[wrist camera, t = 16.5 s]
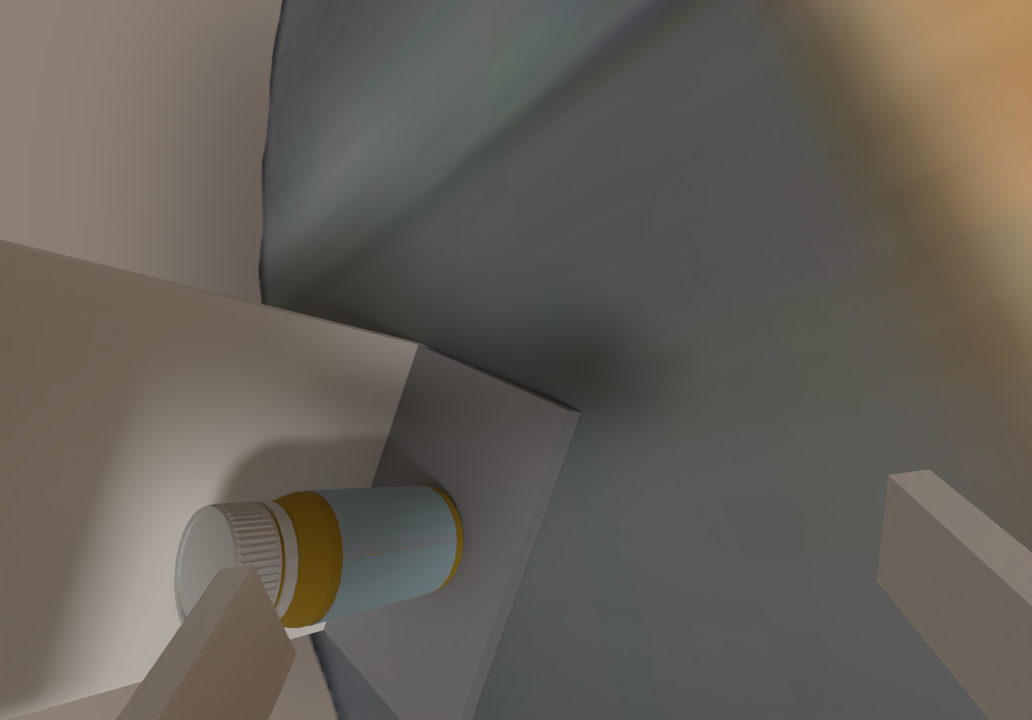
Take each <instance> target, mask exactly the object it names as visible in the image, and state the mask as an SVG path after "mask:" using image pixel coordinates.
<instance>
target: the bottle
mask: <svg viewBox="0 0 1032 720" xmlns="http://www.w3.org/2000/svg"><path fill="white" fill-rule="evenodd" d="M463 545H464V534H463V525H462V522H461V519H460V516H459V513H458V511H457V509H456V508H455V506H454V504H453V503H452V501H451V500H450V499H449V497H448V496H447V495H446V494H445V493H443V492H442V491H441V490H439V489H438V488H435V487H431V486H421V485H416V486H395V487H373V488H351V489H330V490H308V491H300V492H293V493H290V494H287V495H284V496H282V497H280V498H278V499H275V500H273V501H271V502H254V503H253V502H239V503H222V504H212V505H208V506H204V507H202V508H200V509H199V510H197V511H196V512H195V513H194V514H193V516H192V517H191V518H190V520H189V521H188V523H187V525H186V527H185V529H184V532H183V534H182V537H181V540H180V544H179V547H178V552H177V557H176V564H175V576H174V589H175V601H176V607H177V612H178V616H179V619H180V622H181V624H182V623H183V622H184V620H185V619H186V617H187V616H188V615H189V613H190V612H191V610H192V609H193V607H194V606H195V604H196V603H197V602H198V600H199V599H200V597H201V596H202V594H203V593H204V591H205V590H206V588H207V587H208V586H209V584H210V583H211V581H212V580H213V578H214V577H215V575H216V574H217V573H218V571H219V570H220V569H224V568H231V567H239V566H246V565H253V564H254V566H255V568H256V570H257V572H258V574H259V576H260V579H261V581H262V583H263V585H264V587H265V589H266V591H267V593H268V595H269V597H270V599H271V601H272V604H273V606H274V608H275V610H276V612H277V614H278V616H279V618H280V620H281V622H282V624H283V626H284V627H286V628H301V627H305V626H311V625H315V624H319V623H323V622H326V621H330V620H334V619H337V618H341V617H345V616H348V615H352V614H356V613H359V612H363V611H367V610H371V609H374V608H378V607H382V606H385V605H389V604H393V603H396V602H400V601H404V600H407V599H411V598H415V597H419V596H422V595H426V594H429V593H432V592H435V591H438V590H439V589H441V588H443V587H445V586H446V585H447V584H448V583H449V582H450V580H451V579H452V578H453V576H454V575H455V573H456V571H457V568H458V566H459V563H460V561H461V557H462V553H463Z"/></svg>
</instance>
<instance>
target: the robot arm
mask: <svg viewBox="0 0 1032 720" xmlns="http://www.w3.org/2000/svg"><path fill="white" fill-rule="evenodd" d="M877 582H878V583H879V584H880V585H881V586H882V588H883V589H884V590H885V591H886V593H887V594H888V595H889V596H890V598H891V599H892V600H893V601H894V603H895V604H896V605H897V606H898V607H899V609H900V610H901V611H902V612H903V614H904V615H905V616H906V617H907V619H908V620H909V621H910V622H911V624H912V625H913V626H914V627H915V628H916V630H917V631H918V632H919V633H920V635H921V636H922V637H923V638H924V640H925V641H926V642H927V643H928V645H929V646H930V647H931V648H932V649H933V651H934V652H935V653H936V654H937V656H938V657H939V658H940V659H941V661H942V662H943V663H944V664H945V666H946V667H947V668H948V669H949V670H950V672H951V673H952V674H953V675H954V677H955V678H956V679H957V680H958V682H959V683H960V684H961V685H962V687H963V688H964V689H965V690H966V691H967V693H968V694H969V695H970V696H971V698H972V699H973V700H974V701H975V703H976V704H977V705H978V706H979V708H980V709H981V710H982V711H983V712H984V714H985V715H986V716H987V717H988V719H989V720H1032V552H1030V551H1029V550H1028V549H1027V548H1026V547H1024V546H1023V545H1022V544H1021V543H1019V542H1018V541H1017V540H1016V539H1014V538H1013V537H1012V536H1011V535H1009V534H1008V533H1007V532H1006V531H1004V530H1003V529H1002V528H1001V527H1000V526H998V525H997V524H996V523H995V522H993V521H992V520H991V519H990V518H988V517H987V516H986V515H985V514H983V513H982V512H981V511H980V510H979V509H977V508H976V507H975V506H974V505H972V504H971V503H970V502H969V501H967V500H966V499H965V498H964V497H962V496H961V495H960V494H959V493H957V492H956V491H955V490H954V489H953V488H951V487H950V486H949V485H948V484H946V483H945V482H944V481H943V480H941V479H940V478H939V477H938V476H936V475H935V474H934V473H933V472H931V471H930V470H922V471H915V472H908V473H901V474H894V475H888V484H887V492H886V501H885V510H884V519H883V528H882V537H881V546H880V555H879V564H878V573H877ZM296 655H297V654H296V651H295V649H294V647H293V646H292V643H291V641H290V639H289V637H288V635H287V633H286V631H285V628H284V626H283V624H282V622H281V620H280V618H279V616H278V614H277V612H276V610H275V608H274V606H273V604H272V601H271V599H270V597H269V595H268V593H267V591H266V589H265V587H264V585H263V583H262V581H261V579H260V576H259V574H258V572H257V570H256V568H255V566H254V564H253V565H246V566H239V567H231V568H224V569H220V570H219V571H218V573H217V574H216V575H215V577H214V578H213V580H212V581H211V583H210V584H209V586H208V587H207V588H206V590H205V591H204V593H203V594H202V596H201V597H200V599H199V600H198V602H197V603H196V604H195V606H194V607H193V609H192V610H191V612H190V613H189V615H188V616H187V617H186V619H185V620H184V622H183V623H182V625H181V626H180V628H179V629H178V630H177V632H176V633H175V635H174V636H173V638H172V639H171V641H170V642H169V643H168V645H167V646H166V648H165V649H164V651H163V652H162V654H161V655H160V656H159V658H158V659H157V661H156V662H155V664H154V665H153V667H152V668H151V670H150V671H149V672H148V674H147V675H146V677H145V678H144V680H143V681H142V683H141V684H140V685H139V687H138V688H137V690H136V691H135V693H134V694H133V696H132V697H131V698H130V700H129V701H128V703H127V704H126V706H125V707H124V709H123V710H122V711H121V713H120V715H119V716H118V717H117V719H116V720H269V717H270V715H271V713H272V711H273V708H274V706H275V703H276V701H277V699H278V696H279V694H280V692H281V690H282V687H283V685H284V682H285V680H286V678H287V676H288V673H289V671H290V668H291V666H292V664H293V661H294V659H295V657H296Z"/></svg>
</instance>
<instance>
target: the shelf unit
mask: <svg viewBox="0 0 1032 720" xmlns="http://www.w3.org/2000/svg"><path fill="white" fill-rule="evenodd" d="M580 414H581V412H578V411H576V410H574V409H571V408H569V407H567V406H565V405H562V404H560V403H558V402H555V401H553V400H551V399H548V398H546V397H544V396H541V395H539V394H537V393H535V392H532V391H530V390H528V389H525V388H523V387H521V386H518V385H516V384H514V383H511V382H509V381H507V380H505V379H502V378H500V377H498V376H495V375H493V374H491V373H488V372H486V371H484V370H481V369H479V368H477V367H475V366H472V365H470V364H468V363H465V362H463V361H461V360H458V359H456V358H454V357H451V356H449V355H447V354H445V353H442V352H440V351H438V350H435V349H433V348H431V347H428V346H426V345H424V344H421V343H418V342H414V341H410V340H406V339H402V338H398V337H394V336H390V335H386V334H382V333H378V332H374V331H370V330H366V329H361V328H357V327H353V326H349V325H345V324H341V323H337V322H333V321H329V320H325V319H321V318H317V317H313V316H309V315H305V314H301V313H297V312H292V311H288V310H284V309H280V308H276V307H272V306H268V305H264V304H260V303H256V302H252V301H247V300H243V299H239V298H236V297H232V296H228V295H223V294H219V293H215V292H211V291H207V290H203V289H199V288H195V287H191V286H187V285H183V284H179V283H175V282H171V281H167V280H162V279H159V278H155V277H150V276H146V275H142V274H138V273H134V272H130V271H126V270H121V269H118V268H114V267H109V266H106V265H102V264H98V263H94V262H89V261H85V260H81V259H77V258H73V257H69V256H65V255H61V254H57V253H53V252H49V251H45V250H41V249H36V248H33V247H29V246H25V245H21V244H16V243H12V242H8V241H4V240H0V720H6V719H10V718H14V717H17V716H21V715H24V714H27V713H31V712H35V711H38V710H42V709H45V708H49V707H52V706H56V705H60V704H63V703H66V702H70V701H74V700H77V699H81V698H84V697H88V696H91V695H95V694H98V693H102V692H106V691H109V690H113V689H116V688H120V687H123V686H127V685H130V684H134V683H137V682H141V681H143V680H144V678H145V677H146V675H147V674H148V672H149V671H150V670H151V668H152V667H153V665H154V664H155V662H156V661H157V659H158V658H159V656H160V655H161V654H162V652H163V651H164V649H165V648H166V646H167V645H168V643H169V642H170V641H171V639H172V638H173V636H174V635H175V633H176V632H177V630H178V629H179V628H180V626H181V625H182V624H181V622H180V619H179V616H178V612H177V607H176V601H175V589H174V576H175V564H176V557H177V552H178V547H179V544H180V540H181V537H182V534H183V532H184V529H185V527H186V525H187V523H188V521H189V520H190V518H191V517H192V516H193V514H194V513H195V512H196V511H197V510H199V509H200V508H202V507H204V506H208V505H212V504H222V503H239V502H253V503H254V502H271V501H273V500H275V499H278V498H280V497H282V496H284V495H287V494H290V493H293V492H300V491H308V490H330V489H351V488H373V487H395V486H416V485H421V486H431V487H435V488H438V489H439V490H441V491H442V492H443V493H445V494H446V495H447V496H448V497H449V499H450V500H451V501H452V503H453V504H454V506H455V508H456V509H457V511H458V513H459V516H460V519H461V522H462V525H463V534H464V545H463V553H462V557H461V561H460V563H459V566H458V568H457V571H456V573H455V575H454V576H453V578H452V579H451V580H450V582H449V583H448V584H447V585H446V586H445V587H443V588H441V589H439V590H438V591H435V592H432V593H429V594H426V595H422V596H419V597H415V598H411V599H407V600H404V601H400V602H396V603H393V604H389V605H385V606H382V607H378V608H374V609H371V610H367V611H363V612H359V613H356V614H352V615H348V616H345V617H341V618H337V619H334V620H330V621H326V622H323V623H319V624H315V625H311V626H305V627H301V628H286V627H284V628H285V631H286V633H287V635H288V637H289V639H293V638H297V637H300V636H303V635H307V634H311V633H314V632H318V631H321V630H324V631H325V633H326V634H327V635H328V636H329V637H330V638H331V640H332V641H333V642H334V643H335V644H336V645H337V647H338V648H339V649H340V650H341V651H342V652H343V654H344V655H345V656H346V657H347V658H348V659H349V661H350V662H351V663H352V664H353V665H354V666H355V668H356V669H357V670H358V671H359V672H360V673H361V675H362V676H363V677H364V678H365V679H366V680H367V682H368V683H369V684H370V685H371V686H372V687H373V689H374V690H375V691H376V692H377V693H378V694H379V696H380V697H381V698H382V699H383V700H384V701H385V703H386V704H387V705H388V706H389V707H390V708H391V710H392V711H393V712H394V713H395V714H396V715H397V717H398V718H399V719H400V720H472V719H473V716H474V713H475V710H476V707H477V705H478V702H479V699H480V696H481V693H482V691H483V688H484V685H485V682H486V679H487V676H488V674H489V671H490V668H491V665H492V662H493V660H494V657H495V654H496V651H497V648H498V645H499V643H500V640H501V637H502V634H503V631H504V628H505V626H506V623H507V620H508V617H509V614H510V612H511V609H512V606H513V603H514V600H515V597H516V595H517V592H518V589H519V586H520V583H521V581H522V578H523V575H524V572H525V569H526V566H527V564H528V561H529V558H530V555H531V552H532V550H533V547H534V544H535V541H536V538H537V535H538V533H539V530H540V527H541V524H542V521H543V518H544V516H545V513H546V510H547V507H548V504H549V502H550V499H551V496H552V493H553V490H554V487H555V485H556V482H557V479H558V476H559V473H560V471H561V468H562V465H563V462H564V459H565V456H566V454H567V451H568V448H569V445H570V442H571V440H572V437H573V434H574V431H575V428H576V425H577V423H578V420H579V417H580Z"/></svg>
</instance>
